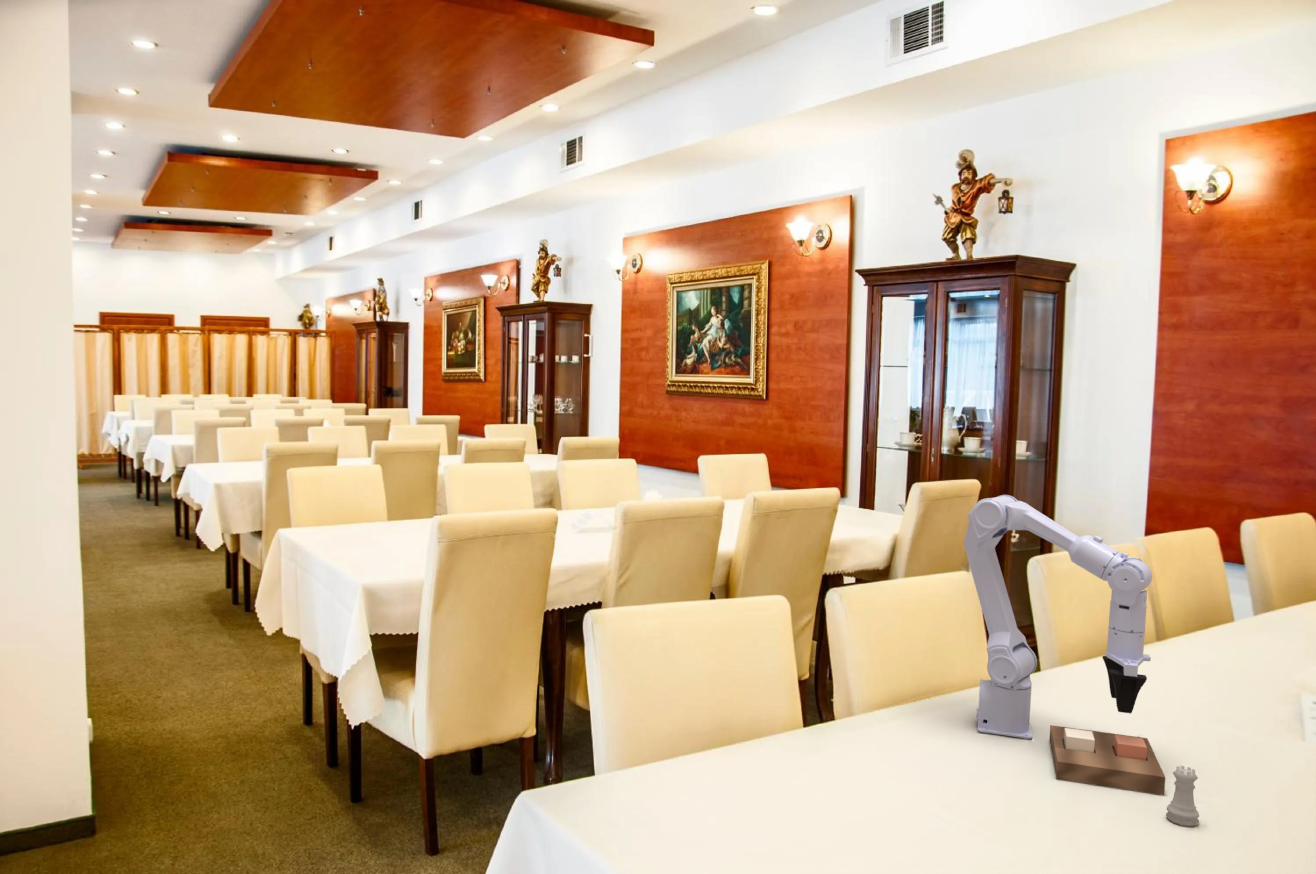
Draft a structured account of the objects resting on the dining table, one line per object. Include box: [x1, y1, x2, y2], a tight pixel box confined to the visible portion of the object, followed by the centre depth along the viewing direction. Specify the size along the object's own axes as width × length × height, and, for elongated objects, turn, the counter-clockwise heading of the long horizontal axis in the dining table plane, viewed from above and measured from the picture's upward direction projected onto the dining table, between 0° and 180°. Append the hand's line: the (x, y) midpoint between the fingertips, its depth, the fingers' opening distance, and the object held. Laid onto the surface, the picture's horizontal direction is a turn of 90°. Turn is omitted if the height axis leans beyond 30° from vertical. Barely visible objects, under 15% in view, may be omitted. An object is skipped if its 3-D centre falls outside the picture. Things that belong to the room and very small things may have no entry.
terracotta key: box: [1114, 734, 1147, 760], centre depth 163 cm, size 4×4×4 cm
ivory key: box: [1064, 727, 1095, 753], centre depth 166 cm, size 4×4×4 cm
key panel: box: [1049, 724, 1166, 796], centre depth 165 cm, size 16×18×3 cm
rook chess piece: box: [1165, 765, 1200, 828], centre depth 145 cm, size 4×4×8 cm
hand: (1121, 705), depth 168 cm, fingers open, 7 cm apart
